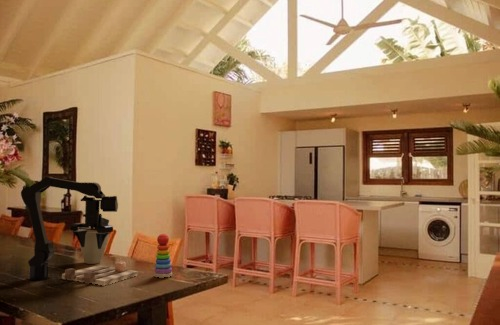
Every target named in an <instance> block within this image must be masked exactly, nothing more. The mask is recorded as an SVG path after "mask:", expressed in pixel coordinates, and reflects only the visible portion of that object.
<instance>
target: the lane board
mask: <svg viewBox="0 0 500 325" xmlns="http://www.w3.org/2000/svg"><path fill="white" fill-rule="evenodd" d="M103 266H104V265H94V266H90V267H86V268H85V267H84V268H81V269H77V270H75V273H79V272H83V271H87V270H91V269H95V268H99V267H103ZM113 271H115V267H109V268H107V269H103V270H99V271H95V276H98V275H102V274H105V273H109V272H113ZM137 275H138V276H139V270H137V271H136V270H132V269H131V270H130V269H129V270H127V271H125V272H121V273H118V274H114V275H110V276H107V277H103V278H100V279H96V280H95V282H91V283H92V284H91V285H95V284H98V285H97V286H100V285H102V286H101V287H106V286H109V285H113V284H116V283H119V282H122V281H121V280H123V281H125V280H124V279H126V280H128V279H127V278H129V279H131V278H130V277H133V278H135V277H134V276H136V277H138V276H137ZM61 279H62V280H66V279H65V272H64V273H62V274H61ZM72 280H73V281H74V282H77V281H79V282H78V283H83V282H84V274H83V275H79V276H76V278H74V279H70V280H68V279H67V281H72ZM118 281H119V282H118ZM115 282H116V283H115ZM112 283H113V284H112ZM108 284H109V285H108ZM105 285H106V286H105Z"/></svg>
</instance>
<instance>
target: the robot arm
mask: <svg viewBox="0 0 500 325" xmlns="http://www.w3.org/2000/svg"><path fill="white" fill-rule="evenodd" d="M50 187H52V188H56V189H57V188H58V189H63V190H64V189H65V190H70V191H75V192H78V193H81V194H82V195H83V197H82V198H81V199H80V202H84V203H85V206H84V208H85V209H84V212H85V213H83V214H82V217H84V222H76V223H72V224H71V226H70V231H72V233H73V234H74V235H75V237H76V239H77V240H78V242H79V245H80V244H81V246H82V247H84V246H85V234H86V233H87V231H88V230H96V231H97V232H98V233H96V238H97V245H98V249H101V247H102V244H103V242H104V239H105V237H106V236H107V235H108V234H111V233H113V232H114V226H113V225H111V224H109V222H110V219H107V218H105V217H103V216H102V213H100V210H102V212H105V213H106V212H107V213H109V212H110V213H115V212H118V208H119V203H118V196H117V195H113V196H112V195H111V196H107V195H105V194H104V192H103V190H102V186H101V185H100V184H99V183H98V182H91V181H90V182H86V181H85V182H82V181H80V182H79V181H73V180H67V179H62V178H61V179H60V178H55V177H52V176H45V177H43V178H42V179H41V180H39V181H37V182H35V183H33V184H32V185H30V186H29V185H28V186H24V187H23V188H22V189H21V191H20V196H21V199H22V200H23V203H24V204H25V205H26V207H27V209H28V214H29V217H30V222H31V223H30V224H31V227H32V231H33V237H34V240H35V241H34V249H33V250H34V251H33V253H34V255H33V256H32V257H31V258H29V260H28V261H27V264H28V265H29V277H27V278H26V280H29V281H34V282H39V281H43V280H47V279H51V276H49V266H48V265H49V263H48V262H49V260H50V259H51V258H52V257H53V256H54V254H55V250H56V249H55V247H54V240H52V241H49V239H48V237H47V232H46V227H45V222H44V219H43V218H44V217H43V214H42V209H41V201H42V193H44V192H45V191H47V190H48V189H49V188H50ZM84 229H85V230H84Z"/></svg>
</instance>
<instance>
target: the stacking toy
mask: <svg viewBox="0 0 500 325" xmlns="http://www.w3.org/2000/svg"><path fill="white" fill-rule="evenodd" d="M156 241H157V243H158V245H157V246H156V247H157V251H156V255H155V258H156V259H155V264H154V266H155V268H154V274H153V276H154V277H155V278H157V277H159V279H165V278H164V277H168V278H170V276H171V277H172V275H173V272H172V271H173V268H172V264H171V258H170V256H171V255H170V249H169V246H170V245H169V244H168V243H169V241H170V237H169V236H168V235H167V234H166V233H162V234H161V233H160V234H159V235H158V236H157V238H156Z"/></svg>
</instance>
